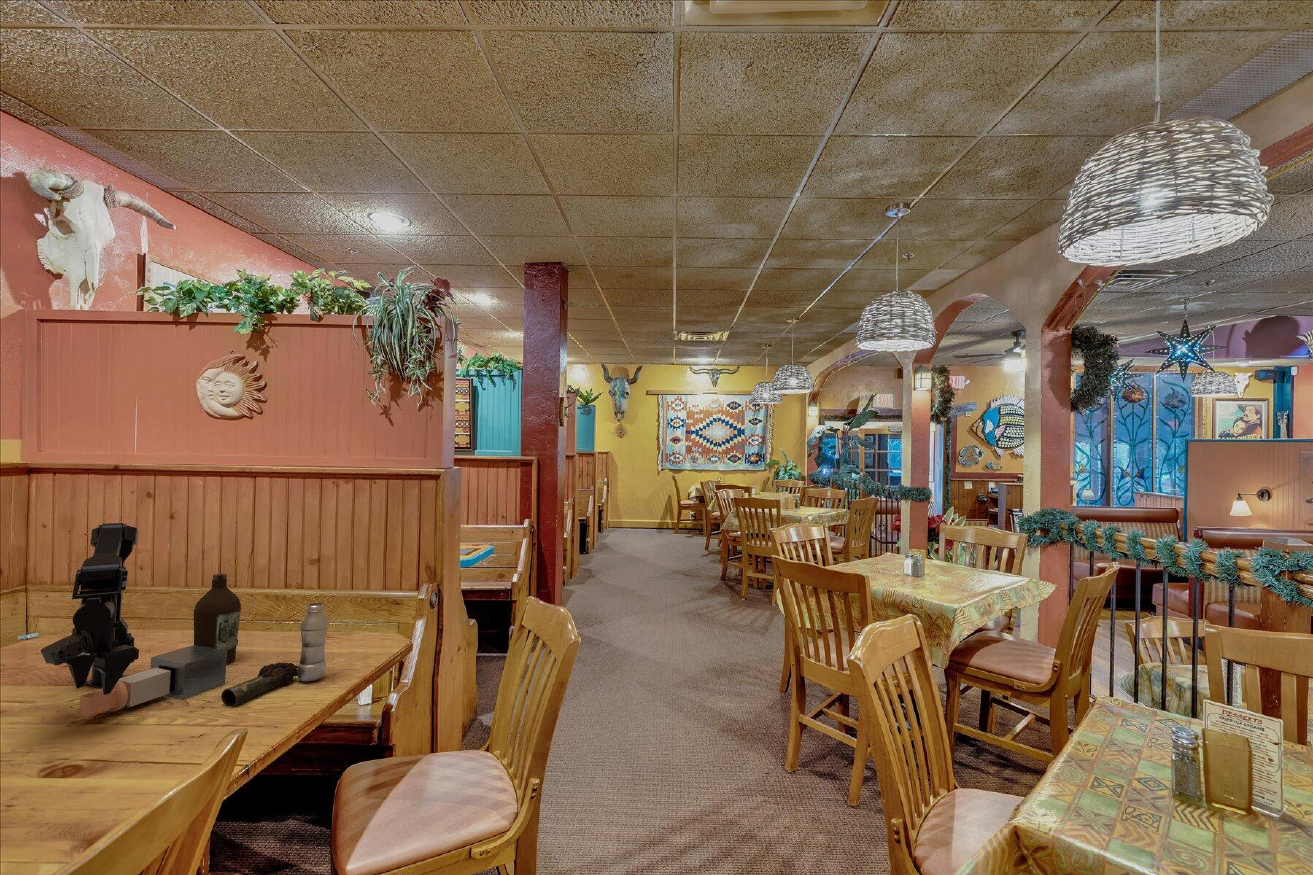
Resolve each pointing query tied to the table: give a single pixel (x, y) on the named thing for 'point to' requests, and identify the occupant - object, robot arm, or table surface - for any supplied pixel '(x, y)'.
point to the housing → (192, 669)
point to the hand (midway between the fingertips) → (93, 690)
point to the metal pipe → (260, 683)
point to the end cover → (128, 692)
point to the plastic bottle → (313, 644)
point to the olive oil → (218, 618)
